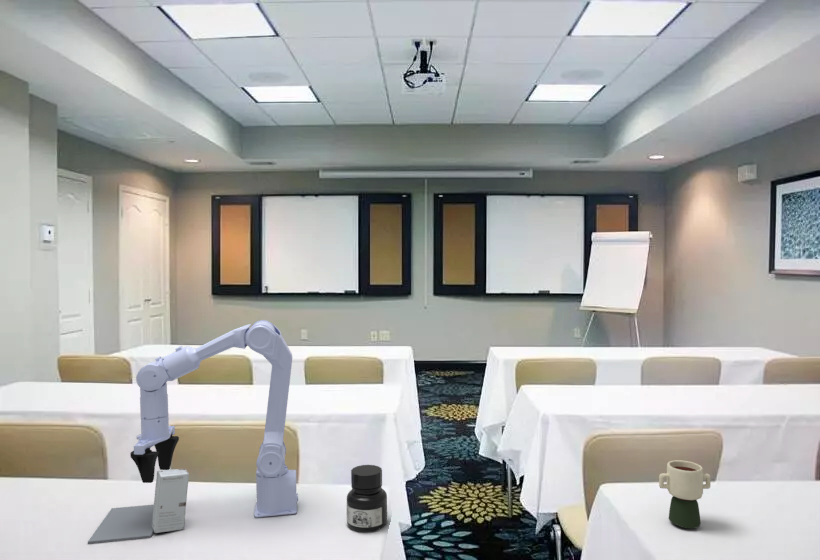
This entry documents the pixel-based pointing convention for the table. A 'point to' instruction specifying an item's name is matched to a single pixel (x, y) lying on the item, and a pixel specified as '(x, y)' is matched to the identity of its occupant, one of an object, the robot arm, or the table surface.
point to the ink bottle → (366, 499)
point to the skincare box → (170, 500)
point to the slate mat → (125, 525)
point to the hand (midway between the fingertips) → (156, 475)
